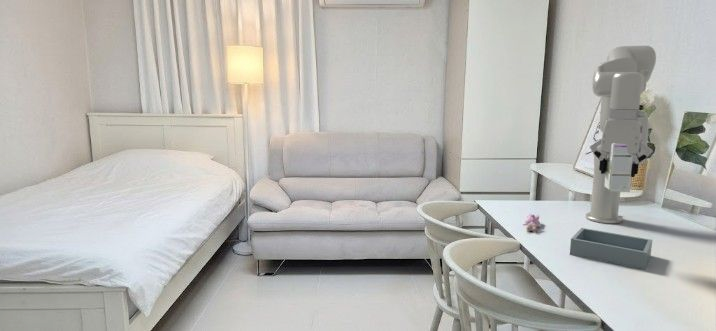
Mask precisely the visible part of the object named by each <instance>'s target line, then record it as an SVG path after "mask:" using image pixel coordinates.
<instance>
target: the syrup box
mask: <svg viewBox="0 0 716 331" xmlns="http://www.w3.org/2000/svg"><path fill="white" fill-rule="evenodd" d="M632 160H633V155H631V154H628V151H627V146H626V144H625V143H612V144H611V149H610V153H608V154H607V156H606V169H605V182H604V187H605V188H606V189H608V190H609V191H615V192H620V193H630V192H631V182H632V177H631V170H632Z"/></svg>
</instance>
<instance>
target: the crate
mask: <svg viewBox="0 0 716 331" xmlns="http://www.w3.org/2000/svg"><path fill="white" fill-rule="evenodd" d="M652 244H653V239H651V238H650V239H649V238H644V237H638V236H631V235H625V234H620V233H615V232H610V231H609V232H608V231H602V230H598V229H597V230H596V229H591V228H585V227H581V228H580V229H579V230H578V231H576V233H575V234H574V235H573V236H572V237H571V238H570V247H569V255H570V256H575V257H582V258H586V259H590V260H595V261H600V262H606V263H611V264H615V265H619V266H620V265H621V266H625V267H630V268H635V269H640V270H643V271H644V270H646V268H647V265H648V262H649V260H650V258H651V253H652V247H653V245H652Z"/></svg>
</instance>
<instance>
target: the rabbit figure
mask: <svg viewBox="0 0 716 331" xmlns="http://www.w3.org/2000/svg"><path fill="white" fill-rule="evenodd" d="M539 219H540V215H539V214H535V215H534V214H533V213H532V214H531V213H528V214H527V219H526V220H525V223H523V224H522V225H523V226H526V233H529V232H533V233H534V234H535V233H537V231H538V227H539V228H542V225H541V222H540V220H539Z"/></svg>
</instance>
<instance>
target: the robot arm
mask: <svg viewBox="0 0 716 331" xmlns="http://www.w3.org/2000/svg"><path fill="white" fill-rule="evenodd" d="M656 62H657V54H656V51H655V49H654V48H653V46H650V45H625V46H618V47H615V48H612V49H611V50H610V51H609V52H608V54H607V57H606V61H604V62H601V63H599V64H598V65H597V66H596V68H595V71H594V72H593V76H592V92H593V93H594V95H595V96H597V97H600V98H601V99H600V100H601V101H600V112H599V113H600V114H599V116H600V117H599V130H600V132H601V133H602V135H601V136H602V137H601V138H599V139H597V140H596V141H595V142H594V143H593V144H592V145H590V146H589V148H590V150H591V151H592V153H593V177H592V178H593V180H592V188H591V189H592V190H591V200H590V211H589V212H587V213H585V219H587V220H589V221H592V222H596V223H602V224H620V223H622V222H623V218H622V216H620V215H619V207H620V199H621V192H615V191H609V190H608V189H606V188H605V187H604V182H605V169H606V156H607V154H608V153H610V149H611V144H612V143H625V144H626V146H627V151H628V154H631V155H633V160H632V170H631V178H635V176H636V175H638V174H639V167H640V166H639V165H642V164H644V162H646V158H648V157H649V156H650V155H651V154H652V153H653V149H652V148H650V147H649V146H648V139H649V125H650V124H649V123H650V122H649V121H650V120H649V116H648V113H647V112H646V111H645V110H642V109H641V110H640V107H641V105H640V103H641V95H642V94H643V93H644V92H645V91H646V87H647V83H648V82H649V80H650V79H651V76H652V73H653V71H654V70H655V67H656Z"/></svg>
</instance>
